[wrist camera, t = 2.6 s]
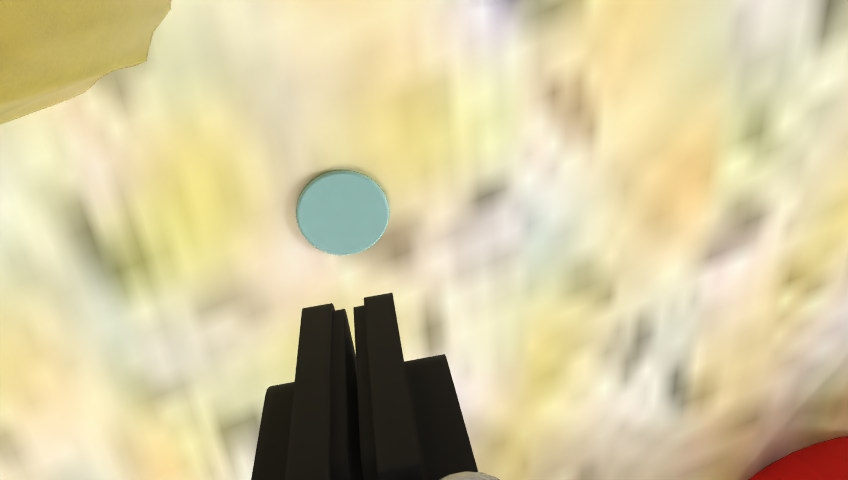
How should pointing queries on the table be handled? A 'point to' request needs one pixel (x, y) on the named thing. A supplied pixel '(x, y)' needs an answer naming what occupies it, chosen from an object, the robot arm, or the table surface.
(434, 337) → the table surface
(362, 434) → the robot arm
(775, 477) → the ceramic cup
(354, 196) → the button
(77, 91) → the vase
